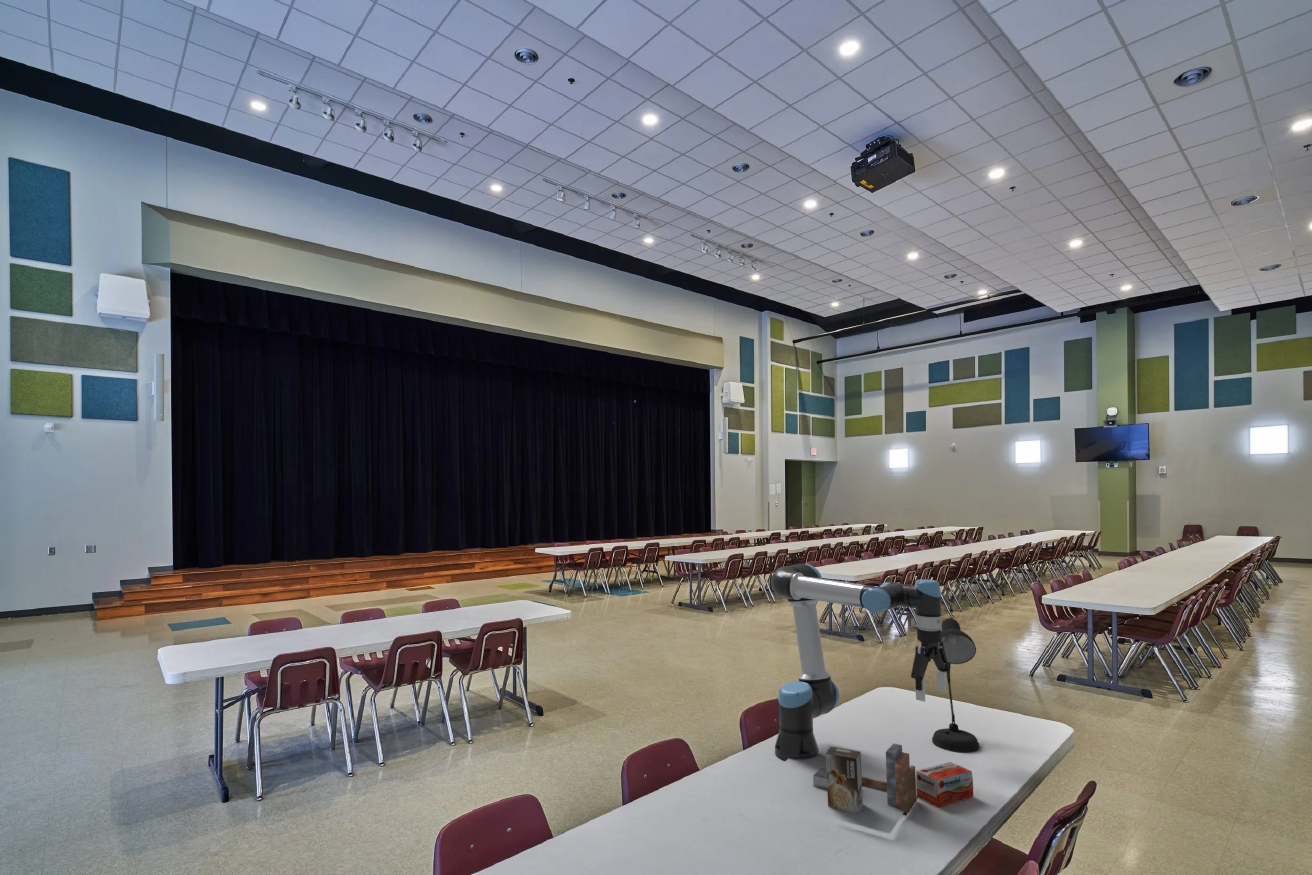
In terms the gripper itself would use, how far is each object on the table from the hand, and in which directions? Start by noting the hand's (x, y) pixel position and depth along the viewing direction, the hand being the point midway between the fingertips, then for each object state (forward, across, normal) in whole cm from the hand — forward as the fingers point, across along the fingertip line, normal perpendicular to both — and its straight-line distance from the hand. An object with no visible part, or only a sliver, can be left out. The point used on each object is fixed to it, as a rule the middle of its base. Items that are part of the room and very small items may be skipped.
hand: (931, 696), depth 213 cm
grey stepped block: (+25, -30, +18) cm, 43 cm away
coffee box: (+26, -38, +7) cm, 47 cm away
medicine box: (+26, -9, -8) cm, 29 cm away
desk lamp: (+26, +34, +10) cm, 44 cm away
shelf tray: (+26, -27, +9) cm, 39 cm away
